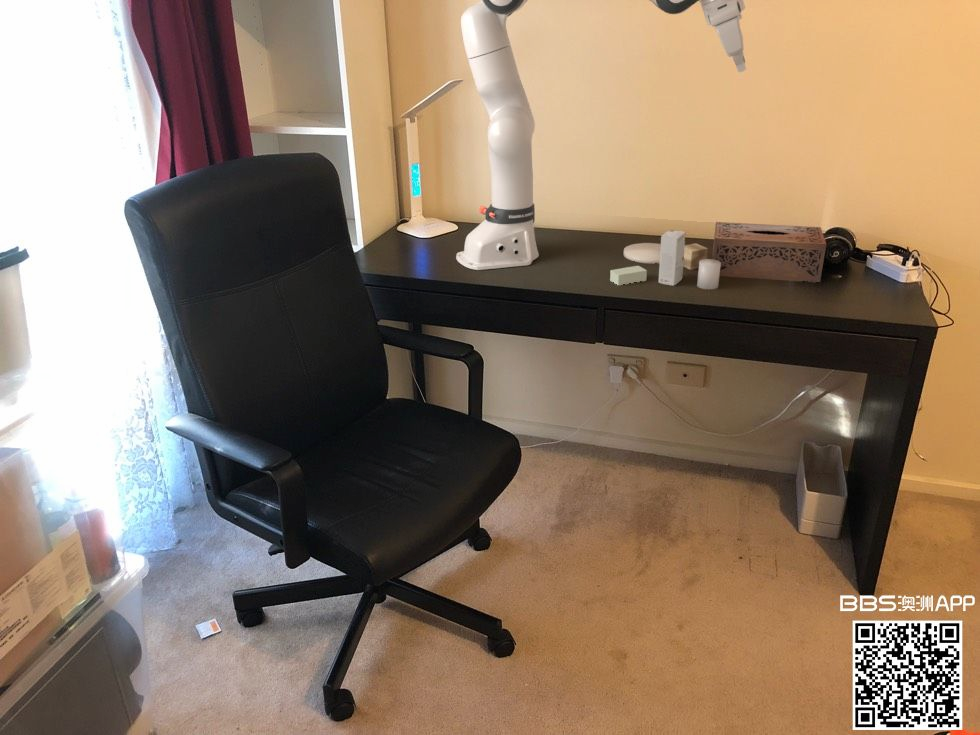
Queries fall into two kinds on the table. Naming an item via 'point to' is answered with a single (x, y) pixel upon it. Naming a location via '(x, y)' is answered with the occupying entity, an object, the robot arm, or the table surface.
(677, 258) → the skincare box
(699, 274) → the grey plastic cylinder
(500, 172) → the robot arm
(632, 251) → the cream saucer
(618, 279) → the sage brick
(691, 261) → the birch block
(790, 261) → the tissue box cover
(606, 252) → the table surface
